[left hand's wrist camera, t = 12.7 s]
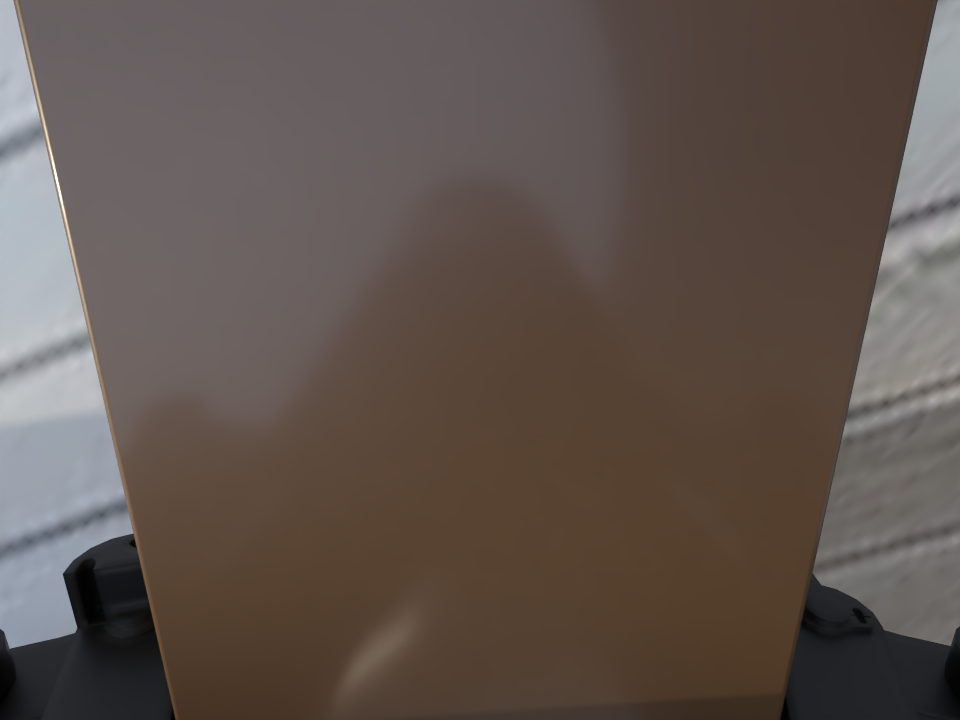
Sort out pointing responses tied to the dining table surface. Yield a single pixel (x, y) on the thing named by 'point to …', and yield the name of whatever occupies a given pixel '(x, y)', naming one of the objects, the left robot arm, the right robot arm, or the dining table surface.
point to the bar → (476, 334)
